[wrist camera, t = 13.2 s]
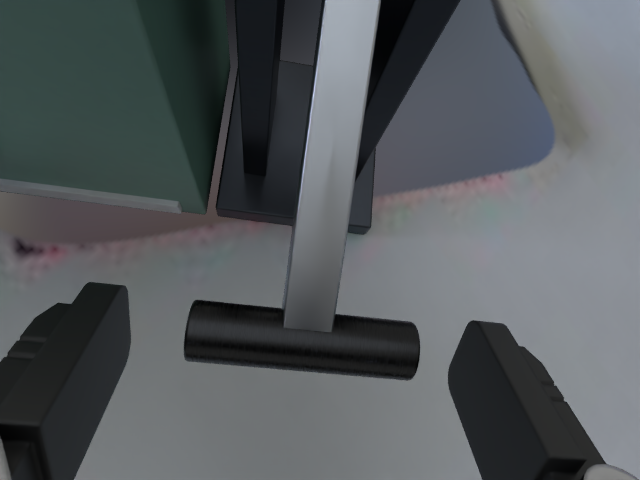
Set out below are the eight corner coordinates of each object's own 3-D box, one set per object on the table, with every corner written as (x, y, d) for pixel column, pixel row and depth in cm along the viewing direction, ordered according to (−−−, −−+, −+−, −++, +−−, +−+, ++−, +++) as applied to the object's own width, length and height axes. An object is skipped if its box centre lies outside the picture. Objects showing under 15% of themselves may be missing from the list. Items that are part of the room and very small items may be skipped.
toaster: (203, 231, 20) (121, 27, 8) (-59, 200, 19) (-667, -107, 6) (230, 66, 23) (201, -297, 10) (-1, 28, 21) (-365, -441, 9)
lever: (392, 356, 12) (422, 404, 9) (196, 338, 11) (174, 383, 9) (482, -181, 10) (548, -293, 7) (256, -236, 9) (248, -377, 7)
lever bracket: (365, 234, 21) (639, -67, 6) (217, 216, 20) (113, -184, 5) (373, 90, 23) (593, -399, 8) (240, 68, 23) (213, -519, 7)
